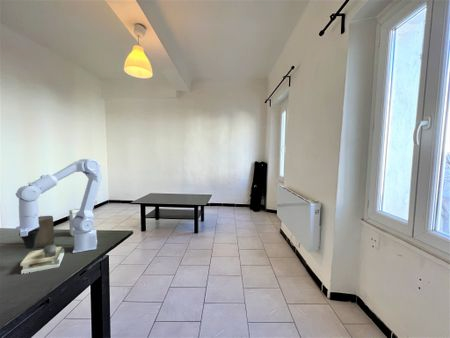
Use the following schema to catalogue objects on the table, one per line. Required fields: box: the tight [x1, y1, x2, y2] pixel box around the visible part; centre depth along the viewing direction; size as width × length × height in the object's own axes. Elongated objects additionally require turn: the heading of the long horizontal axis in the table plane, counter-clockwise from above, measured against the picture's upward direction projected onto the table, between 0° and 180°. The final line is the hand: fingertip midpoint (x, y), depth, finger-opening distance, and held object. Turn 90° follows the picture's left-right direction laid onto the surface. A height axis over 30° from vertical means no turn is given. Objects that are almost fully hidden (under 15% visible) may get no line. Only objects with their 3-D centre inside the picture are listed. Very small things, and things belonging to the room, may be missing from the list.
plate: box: [19, 243, 64, 267], centre depth 90 cm, size 11×12×5 cm
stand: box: [20, 248, 65, 275], centre depth 91 cm, size 12×13×3 cm
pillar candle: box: [33, 215, 55, 249], centre depth 110 cm, size 10×10×15 cm
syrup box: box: [68, 208, 80, 237], centre depth 124 cm, size 6×6×14 cm
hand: (30, 247), depth 88 cm, fingers closed
